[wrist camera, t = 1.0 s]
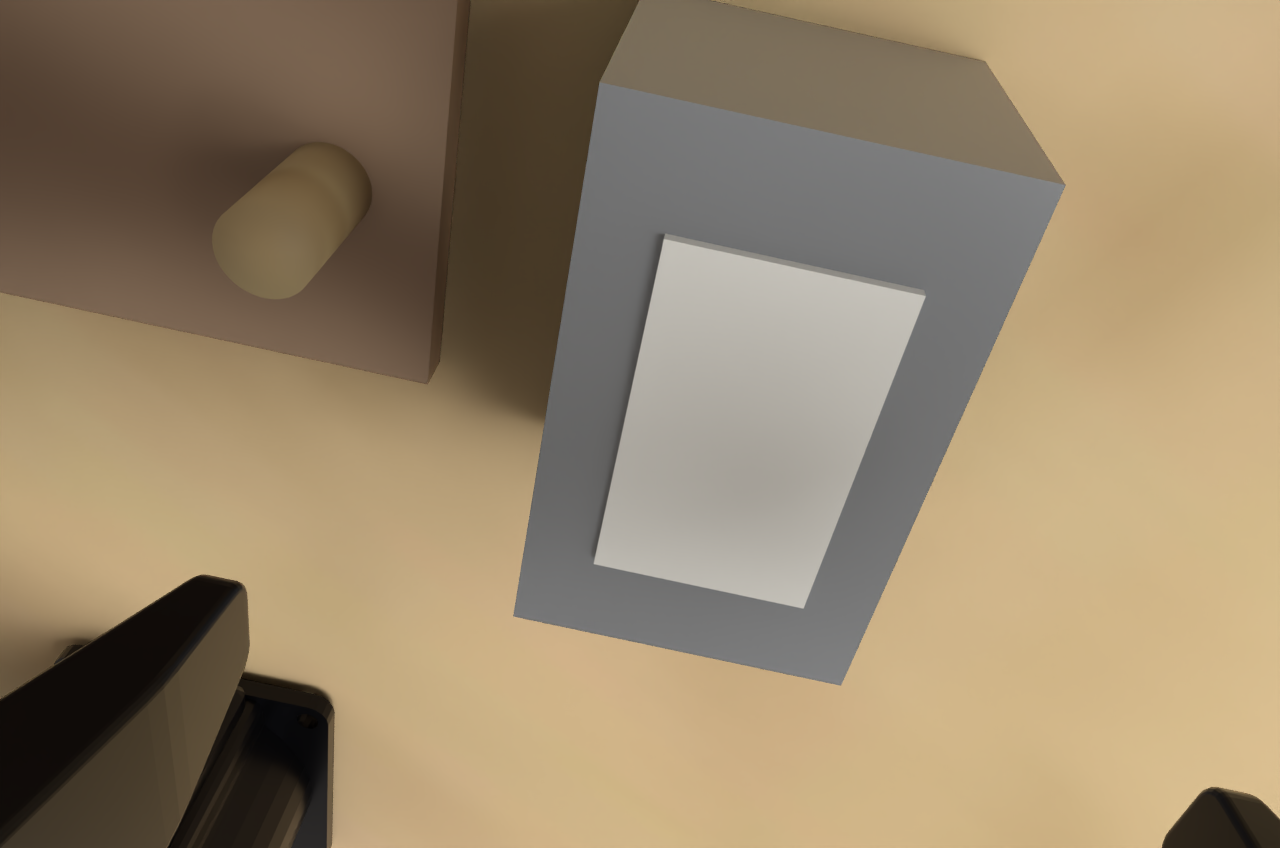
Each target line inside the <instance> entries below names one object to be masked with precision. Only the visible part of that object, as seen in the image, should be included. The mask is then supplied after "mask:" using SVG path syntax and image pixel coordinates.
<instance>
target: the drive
mask: <svg viewBox="0 0 1280 848" xmlns="http://www.w3.org/2000/svg"><path fill="white" fill-rule="evenodd" d="M1064 188H1065V183H1064V182H1063V180H1062V179H1061V177H1060V176H1059V174H1058V173H1057V171H1056V169H1055V168H1054V166H1053V165H1052V163H1051V162H1050V160H1049V159H1048V157H1047V156H1046V154H1045V153H1044V151H1043V149H1042V148H1041V146H1040V145H1039V143H1038V142H1037V140H1036V139H1035V137H1034V136H1033V134H1032V133H1031V131H1030V129H1029V128H1028V126H1027V125H1026V123H1025V122H1024V120H1023V119H1022V117H1021V116H1020V114H1019V113H1018V111H1017V109H1016V108H1015V106H1014V105H1013V103H1012V102H1011V100H1010V99H1009V97H1008V96H1007V94H1006V93H1005V91H1004V89H1003V88H1002V86H1001V85H1000V83H999V82H998V80H997V79H996V77H995V76H994V74H993V73H992V71H991V69H990V68H989V66H988V65H987V63H986V62H985V61H980V60H976V59H971V58H967V57H962V56H958V55H953V54H949V53H944V52H940V51H935V50H931V49H926V48H922V47H917V46H913V45H908V44H904V43H900V42H895V41H891V40H886V39H882V38H877V37H873V36H868V35H864V34H859V33H855V32H850V31H846V30H841V29H837V28H832V27H828V26H823V25H819V24H814V23H810V22H805V21H801V20H796V19H792V18H787V17H783V16H778V15H774V14H770V13H765V12H761V11H756V10H752V9H747V8H743V7H738V6H734V5H729V4H725V3H720V2H716V1H711V0H639V2H638V4H637V6H636V8H635V10H634V13H633V15H632V17H631V19H630V21H629V23H628V25H627V27H626V29H625V31H624V33H623V35H622V37H621V39H620V41H619V43H618V45H617V47H616V49H615V51H614V54H613V56H612V58H611V60H610V62H609V64H608V66H607V68H606V70H605V72H604V74H603V76H602V78H601V80H600V82H599V89H598V95H597V101H596V107H595V113H594V120H593V126H592V132H591V138H590V144H589V151H588V157H587V163H586V169H585V175H584V182H583V188H582V194H581V200H580V206H579V213H578V219H577V225H576V231H575V237H574V244H573V250H572V256H571V262H570V268H569V275H568V281H567V287H566V293H565V299H564V306H563V312H562V318H561V324H560V330H559V337H558V343H557V349H556V355H555V361H554V368H553V374H552V380H551V386H550V392H549V399H548V405H547V411H546V417H545V423H544V430H543V436H542V442H541V448H540V454H539V460H538V467H537V473H536V479H535V485H534V491H533V498H532V504H531V510H530V516H529V522H528V529H527V535H526V541H525V547H524V553H523V560H522V566H521V572H520V578H519V584H518V591H517V597H516V603H515V609H514V615H513V616H514V617H519V618H523V619H528V620H533V621H538V622H542V623H547V624H552V625H557V626H561V627H566V628H571V629H575V630H580V631H585V632H590V633H594V634H599V635H604V636H609V637H613V638H618V639H623V640H628V641H632V642H637V643H642V644H647V645H651V646H656V647H661V648H665V649H670V650H675V651H680V652H684V653H689V654H694V655H699V656H703V657H708V658H713V659H718V660H722V661H727V662H732V663H736V664H741V665H746V666H751V667H755V668H760V669H765V670H770V671H774V672H779V673H784V674H789V675H793V676H798V677H803V678H807V679H812V680H817V681H822V682H826V683H831V684H836V685H841V684H842V682H843V680H844V678H845V675H846V673H847V671H848V669H849V667H850V664H851V662H852V660H853V658H854V655H855V653H856V651H857V649H858V647H859V644H860V642H861V640H862V638H863V635H864V633H865V631H866V629H867V626H868V624H869V622H870V620H871V618H872V615H873V613H874V611H875V609H876V606H877V604H878V602H879V600H880V598H881V595H882V593H883V591H884V589H885V586H886V584H887V582H888V580H889V577H890V575H891V573H892V571H893V569H894V566H895V564H896V562H897V560H898V557H899V555H900V553H901V551H902V548H903V546H904V544H905V542H906V540H907V537H908V535H909V533H910V531H911V528H912V526H913V524H914V522H915V520H916V517H917V515H918V513H919V511H920V508H921V506H922V504H923V502H924V499H925V497H926V495H927V493H928V491H929V488H930V486H931V484H932V482H933V479H934V477H935V475H936V473H937V471H938V468H939V466H940V464H941V462H942V459H943V457H944V455H945V453H946V450H947V448H948V446H949V444H950V442H951V439H952V437H953V435H954V433H955V430H956V428H957V426H958V424H959V421H960V419H961V417H962V415H963V413H964V410H965V408H966V406H967V404H968V401H969V399H970V397H971V395H972V393H973V390H974V388H975V386H976V384H977V381H978V379H979V377H980V375H981V372H982V370H983V368H984V366H985V364H986V361H987V359H988V357H989V355H990V352H991V350H992V348H993V346H994V344H995V341H996V339H997V337H998V335H999V332H1000V330H1001V328H1002V326H1003V323H1004V321H1005V319H1006V317H1007V315H1008V312H1009V310H1010V308H1011V306H1012V303H1013V301H1014V299H1015V297H1016V295H1017V292H1018V290H1019V288H1020V286H1021V283H1022V281H1023V279H1024V277H1025V274H1026V272H1027V270H1028V268H1029V266H1030V263H1031V261H1032V259H1033V257H1034V254H1035V252H1036V250H1037V248H1038V245H1039V243H1040V241H1041V239H1042V237H1043V234H1044V232H1045V230H1046V228H1047V225H1048V223H1049V221H1050V219H1051V217H1052V214H1053V212H1054V210H1055V208H1056V205H1057V203H1058V201H1059V199H1060V196H1061V194H1062V192H1063V190H1064Z"/></svg>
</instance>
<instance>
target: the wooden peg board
mask: <svg viewBox="0 0 1280 848" xmlns="http://www.w3.org/2000/svg"><path fill="white" fill-rule="evenodd" d="M469 10H470V0H0V292H2V293H6V294H11V295H15V296H20V297H25V298H29V299H34V300H39V301H43V302H48V303H53V304H57V305H62V306H67V307H71V308H76V309H81V310H85V311H90V312H94V313H99V314H104V315H108V316H113V317H118V318H122V319H127V320H132V321H136V322H141V323H146V324H150V325H155V326H159V327H164V328H169V329H173V330H178V331H183V332H187V333H192V334H197V335H201V336H206V337H211V338H215V339H220V340H224V341H229V342H234V343H238V344H243V345H248V346H252V347H257V348H262V349H266V350H271V351H276V352H280V353H285V354H289V355H294V356H299V357H303V358H308V359H313V360H317V361H322V362H327V363H331V364H336V365H341V366H345V367H350V368H354V369H359V370H364V371H368V372H373V373H378V374H382V375H387V376H392V377H396V378H401V379H406V380H410V381H415V382H420V383H424V384H428V383H429V381H430V379H431V377H432V375H433V373H434V371H435V369H436V367H437V365H438V364H439V362H440V353H441V341H442V330H443V318H444V306H445V294H446V282H447V270H448V259H449V247H450V235H451V223H452V211H453V200H454V188H455V176H456V164H457V152H458V140H459V129H460V117H461V105H462V93H463V81H464V69H465V58H466V46H467V34H468V22H469Z"/></svg>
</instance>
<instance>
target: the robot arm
mask: <svg viewBox="0 0 1280 848" xmlns="http://www.w3.org/2000/svg"><path fill="white" fill-rule="evenodd" d="M249 646H250V640H249V619H248V599H247V591H246V588H245V586H244V585H243V584H242V583H240V582H238V581H234V580H229V579H224V578H220V577H215V576H210V575H199V576H196V577H193V578H191V579H190V580H188V581H186V582H185V583H183V584H182V585H180V586H178V587H177V588H175V589H174V590H172V591H171V592H169V593H167V594H166V595H164V596H163V597H161V598H159V599H158V600H156V601H155V602H153V603H152V604H150V605H148V606H147V607H145V608H144V609H142V610H140V611H139V612H137V613H136V614H134V615H133V616H131V617H129V618H128V619H126V620H125V621H123V622H121V623H120V624H118V625H117V626H115V627H114V628H112V629H110V630H109V631H107V632H106V633H104V634H102V635H101V636H99V637H98V638H96V639H94V640H93V641H91V642H90V643H88V644H87V645H85V646H82V645H71V646H68V647H67V648H66V649H65V650H64V651H63V652H62V654H61V655H60V656H59V658H58V659H57V660H56V661H55V663H54V665H53V666H52V667H50V668H49V669H47V670H45V671H44V672H42V673H41V674H39V675H37V676H36V677H34V678H33V679H31V680H30V681H28V682H26V683H25V684H23V685H22V686H20V687H18V688H17V689H15V690H14V691H12V692H10V693H9V694H7V695H6V696H4V697H3V698H1V699H0V848H331V845H332V816H333V763H334V709H333V706H332V705H331V704H330V702H329V701H327V700H326V699H324V698H323V697H321V696H318V695H315V694H311V693H306V692H301V691H297V690H292V689H287V688H282V687H278V686H273V685H268V684H263V683H259V682H254V681H249V680H244V679H240V678H241V676H242V673H243V671H244V668H245V665H246V662H247V658H248V653H249ZM1162 848H1280V819H1279V818H1278V817H1277V816H1276V815H1275V814H1274V813H1273V812H1272V811H1271V809H1270V808H1269V807H1268V806H1267V805H1266V804H1264V803H1263V802H1262V801H1261V800H1260V799H1258V798H1257V797H1255V796H1253V795H1250V794H1247V793H1243V792H1238V791H1233V790H1228V789H1224V788H1219V787H1210V788H1208V789H1205V790H1203V791H1202V792H1201V793H1200V794H1199V795H1198V796H1197V798H1196V799H1195V800H1194V801H1193V802H1192V804H1191V805H1190V806H1189V807H1188V808H1187V810H1186V811H1185V812H1184V813H1183V815H1182V816H1181V817H1180V818H1179V819H1178V821H1177V822H1176V823H1175V824H1174V825H1173V827H1172V828H1171V829H1170V830H1169V832H1168V833H1167V835H1166V836H1165V839H1164V841H1163V845H1162Z"/></svg>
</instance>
